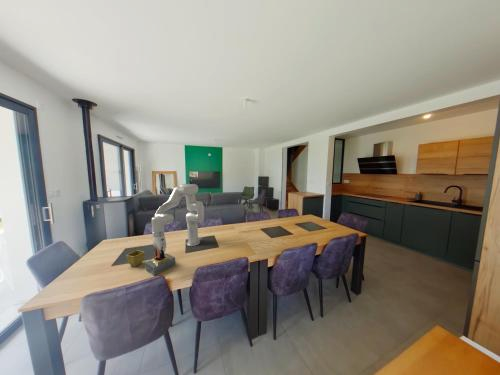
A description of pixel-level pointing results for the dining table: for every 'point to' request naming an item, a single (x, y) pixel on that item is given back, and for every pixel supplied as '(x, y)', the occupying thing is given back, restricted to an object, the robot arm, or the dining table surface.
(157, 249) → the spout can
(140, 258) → the flower pot
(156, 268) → the grey box with hole
